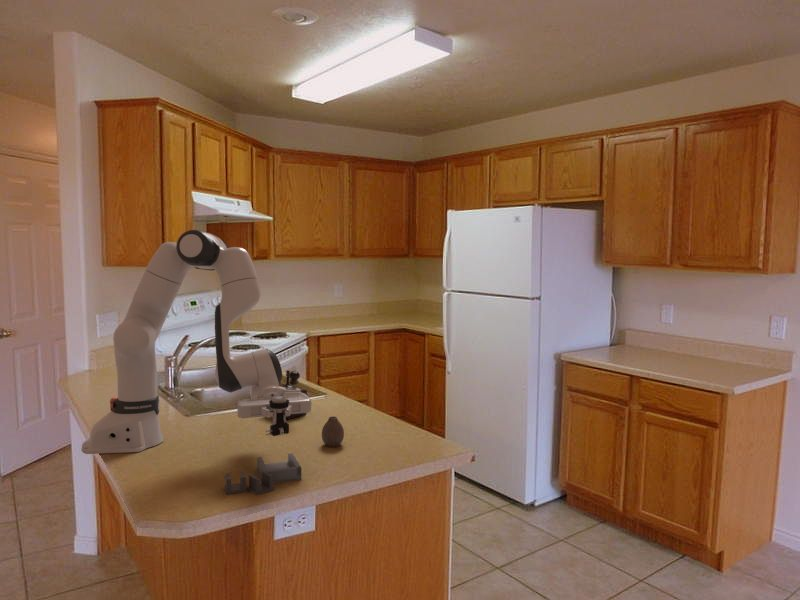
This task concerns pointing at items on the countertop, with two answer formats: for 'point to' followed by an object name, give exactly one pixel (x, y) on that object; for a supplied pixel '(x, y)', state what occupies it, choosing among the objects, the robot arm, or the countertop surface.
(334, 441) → the vase
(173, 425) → the countertop surface
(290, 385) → the black box with knob
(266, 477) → the clip
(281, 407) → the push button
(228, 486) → the clip
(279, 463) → the end holder
